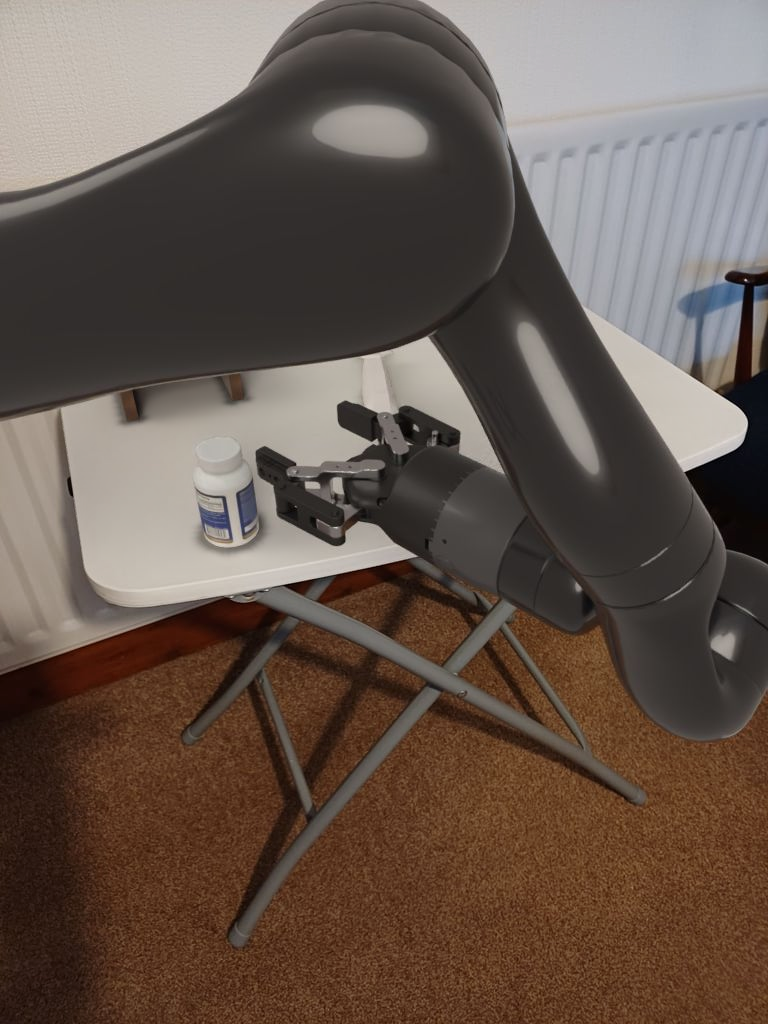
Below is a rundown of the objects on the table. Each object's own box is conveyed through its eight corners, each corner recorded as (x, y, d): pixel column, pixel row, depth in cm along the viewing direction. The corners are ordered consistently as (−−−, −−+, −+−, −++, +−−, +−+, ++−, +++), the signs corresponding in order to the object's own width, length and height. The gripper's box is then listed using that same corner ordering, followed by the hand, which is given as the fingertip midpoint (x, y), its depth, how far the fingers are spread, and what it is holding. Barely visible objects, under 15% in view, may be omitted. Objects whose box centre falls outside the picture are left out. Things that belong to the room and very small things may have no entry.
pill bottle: (249, 508, 79) (237, 426, 73) (267, 539, 75) (256, 455, 69) (197, 523, 77) (180, 440, 71) (212, 556, 73) (196, 471, 67)
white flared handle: (358, 442, 88) (357, 412, 86) (351, 366, 102) (350, 338, 100) (407, 440, 88) (407, 410, 86) (393, 364, 102) (393, 336, 100)
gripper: (536, 429, 54) (362, 357, 62) (401, 530, 45) (222, 431, 54) (525, 514, 58) (364, 436, 67) (401, 620, 50) (236, 516, 59)
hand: (301, 434), depth 60 cm, fingers open, 8 cm apart
